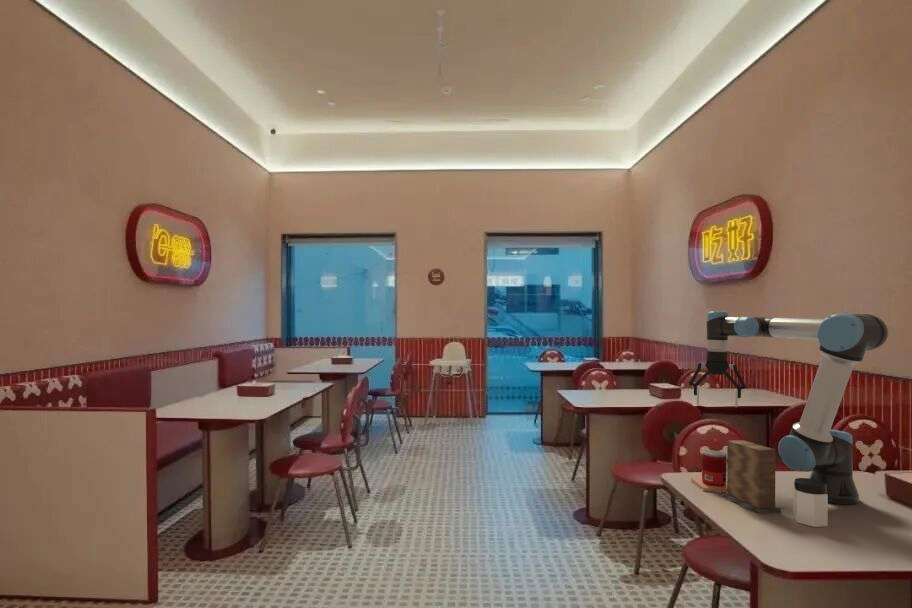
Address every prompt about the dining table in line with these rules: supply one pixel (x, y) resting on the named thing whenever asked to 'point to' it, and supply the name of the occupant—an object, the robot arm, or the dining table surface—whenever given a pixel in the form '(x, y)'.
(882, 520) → the dining table surface
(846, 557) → the dining table surface
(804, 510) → the jar
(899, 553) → the dining table surface
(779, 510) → the wooden block
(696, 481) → the terracotta tile
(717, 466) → the canned food
